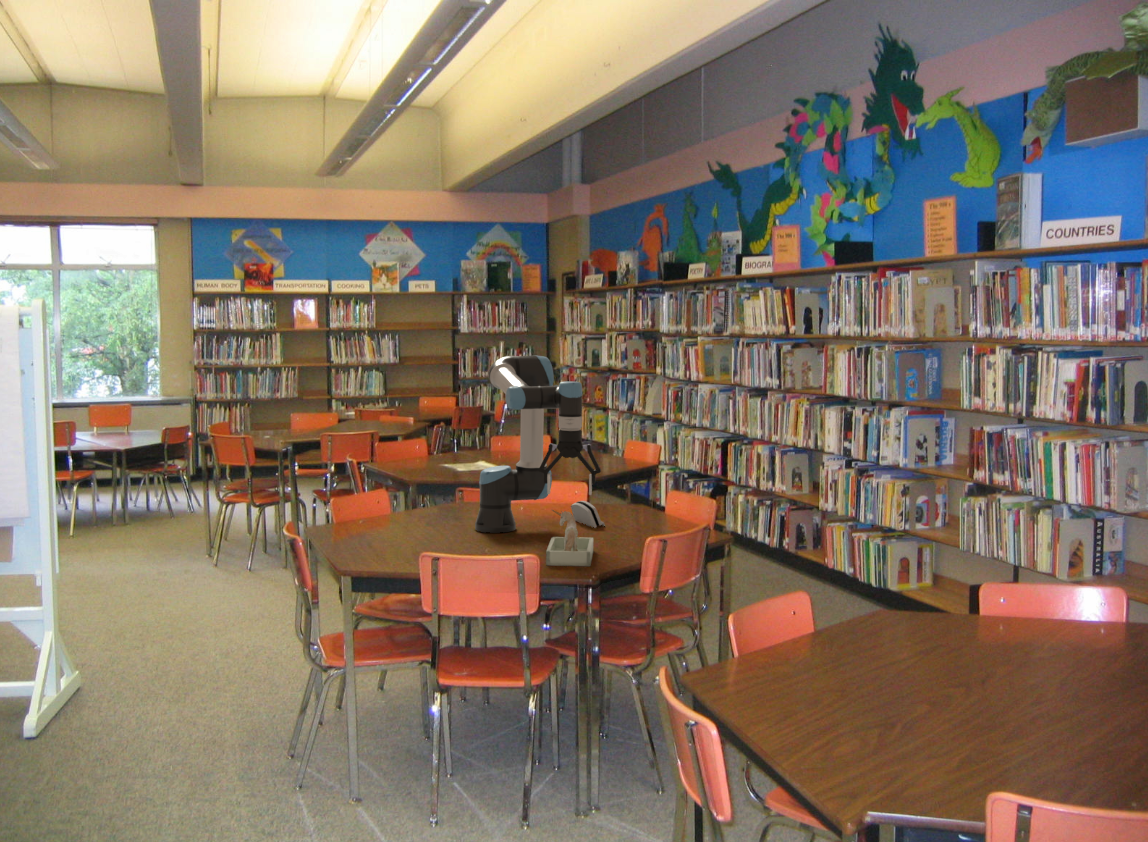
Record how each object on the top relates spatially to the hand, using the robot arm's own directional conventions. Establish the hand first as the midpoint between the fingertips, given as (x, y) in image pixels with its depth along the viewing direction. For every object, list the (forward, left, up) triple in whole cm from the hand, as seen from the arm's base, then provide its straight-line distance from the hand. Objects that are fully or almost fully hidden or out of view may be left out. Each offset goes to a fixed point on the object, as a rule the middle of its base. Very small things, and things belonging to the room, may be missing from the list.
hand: (569, 494), depth 318 cm
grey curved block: (+3, +56, -21) cm, 60 cm away
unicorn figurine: (-2, -2, -20) cm, 20 cm away
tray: (+1, -2, -21) cm, 21 cm away
